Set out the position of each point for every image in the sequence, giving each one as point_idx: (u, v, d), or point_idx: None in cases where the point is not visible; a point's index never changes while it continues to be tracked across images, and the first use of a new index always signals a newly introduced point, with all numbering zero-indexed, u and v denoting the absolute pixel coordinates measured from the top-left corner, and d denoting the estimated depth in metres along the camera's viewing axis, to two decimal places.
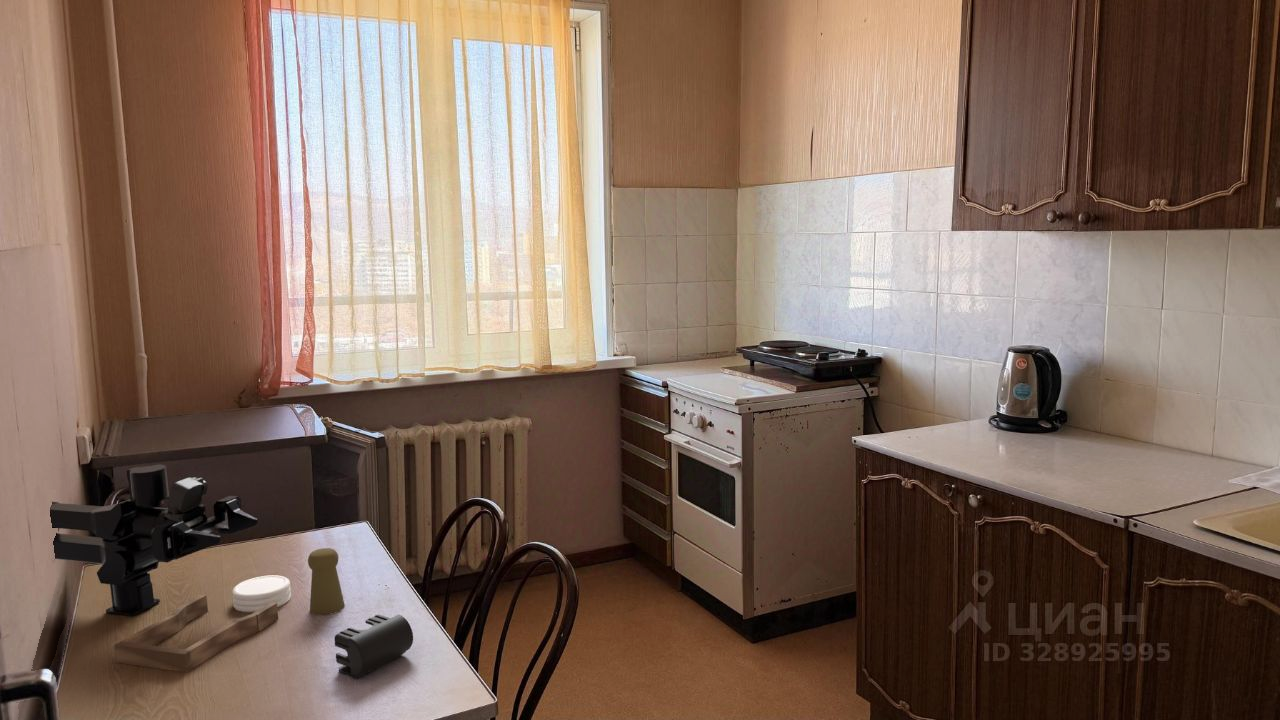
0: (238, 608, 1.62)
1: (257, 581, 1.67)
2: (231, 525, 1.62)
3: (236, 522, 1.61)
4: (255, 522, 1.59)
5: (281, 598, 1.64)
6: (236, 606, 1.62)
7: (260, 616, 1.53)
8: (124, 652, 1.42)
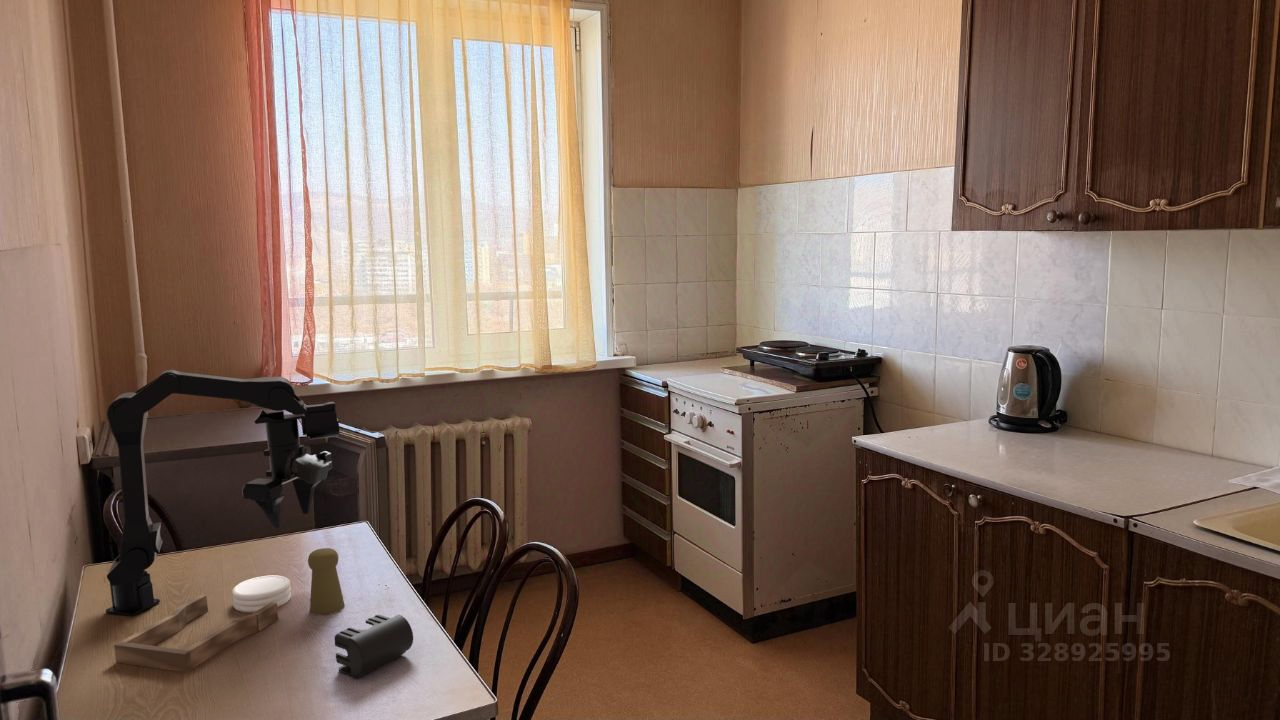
0: (238, 608, 1.62)
1: (257, 581, 1.67)
2: (299, 483, 1.77)
3: (302, 490, 1.77)
4: (305, 512, 1.77)
5: (281, 598, 1.64)
6: (236, 606, 1.62)
7: (260, 616, 1.53)
8: (124, 652, 1.42)
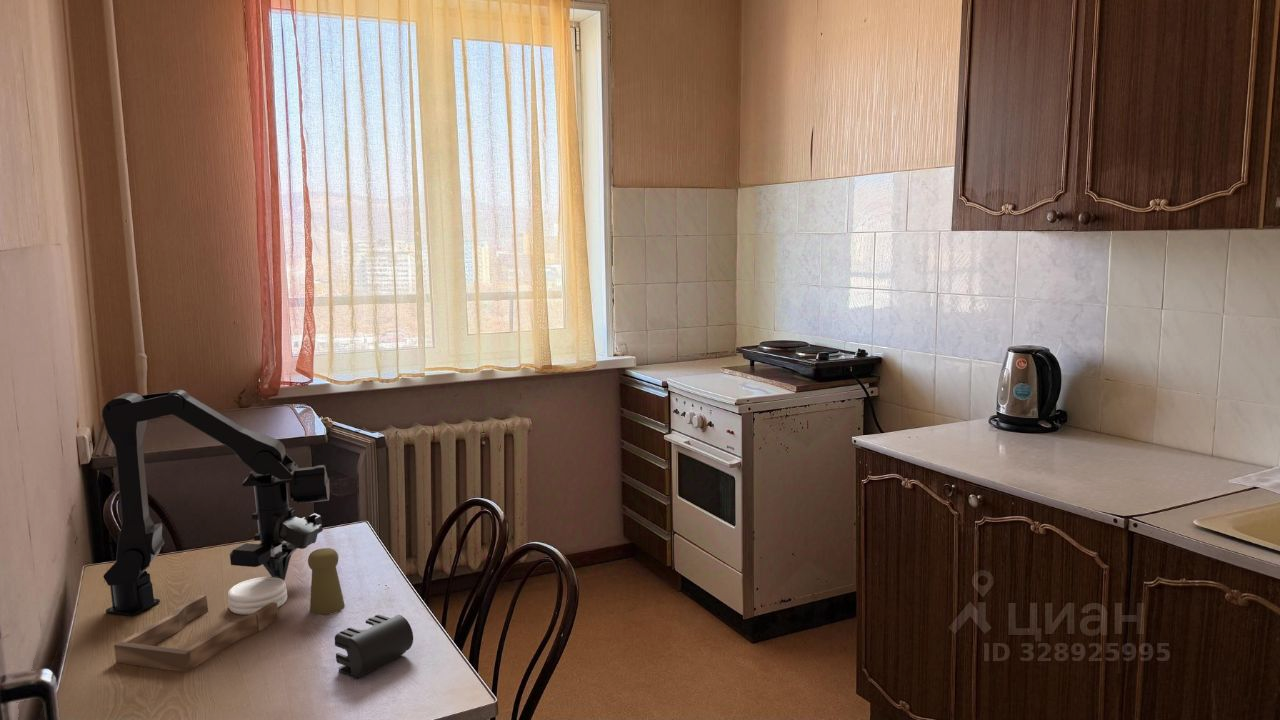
0: (234, 610, 1.60)
1: (253, 582, 1.66)
2: None
3: None
4: None
5: (277, 600, 1.62)
6: (232, 608, 1.61)
7: (260, 616, 1.53)
8: (124, 652, 1.42)
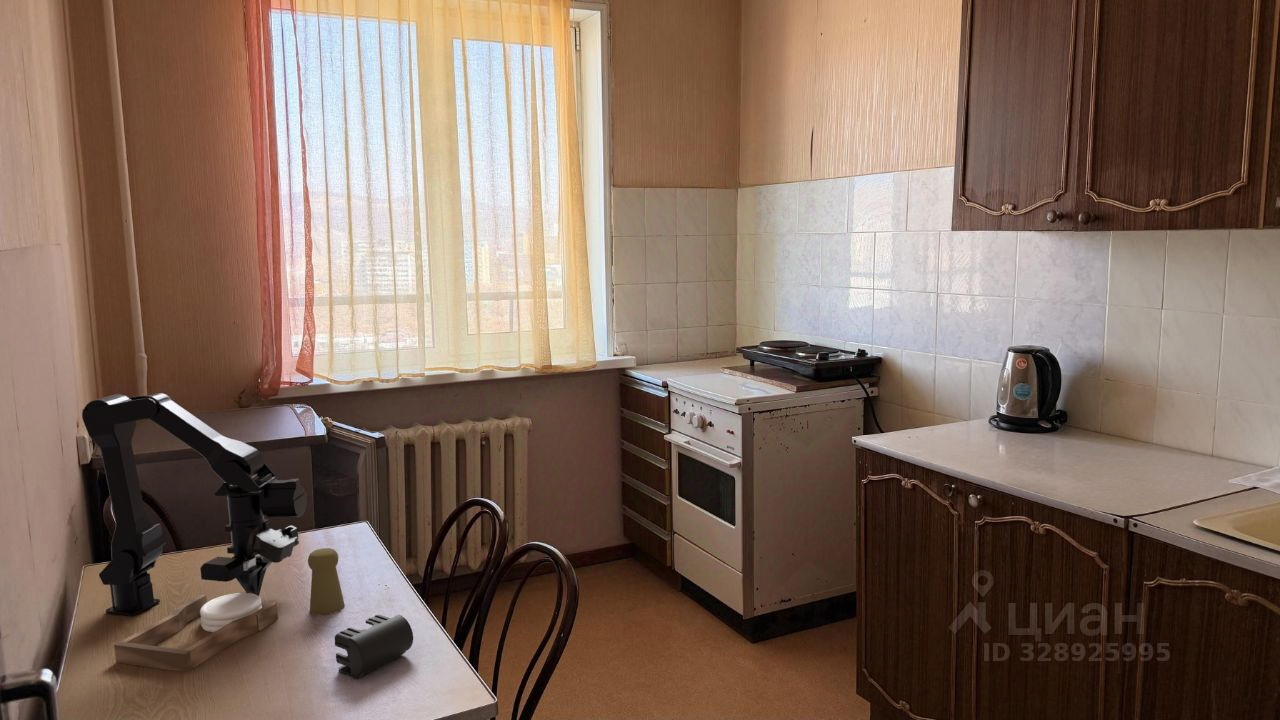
0: (206, 628, 1.54)
1: (227, 599, 1.60)
2: None
3: None
4: None
5: None
6: (204, 626, 1.54)
7: (260, 616, 1.53)
8: (124, 652, 1.42)
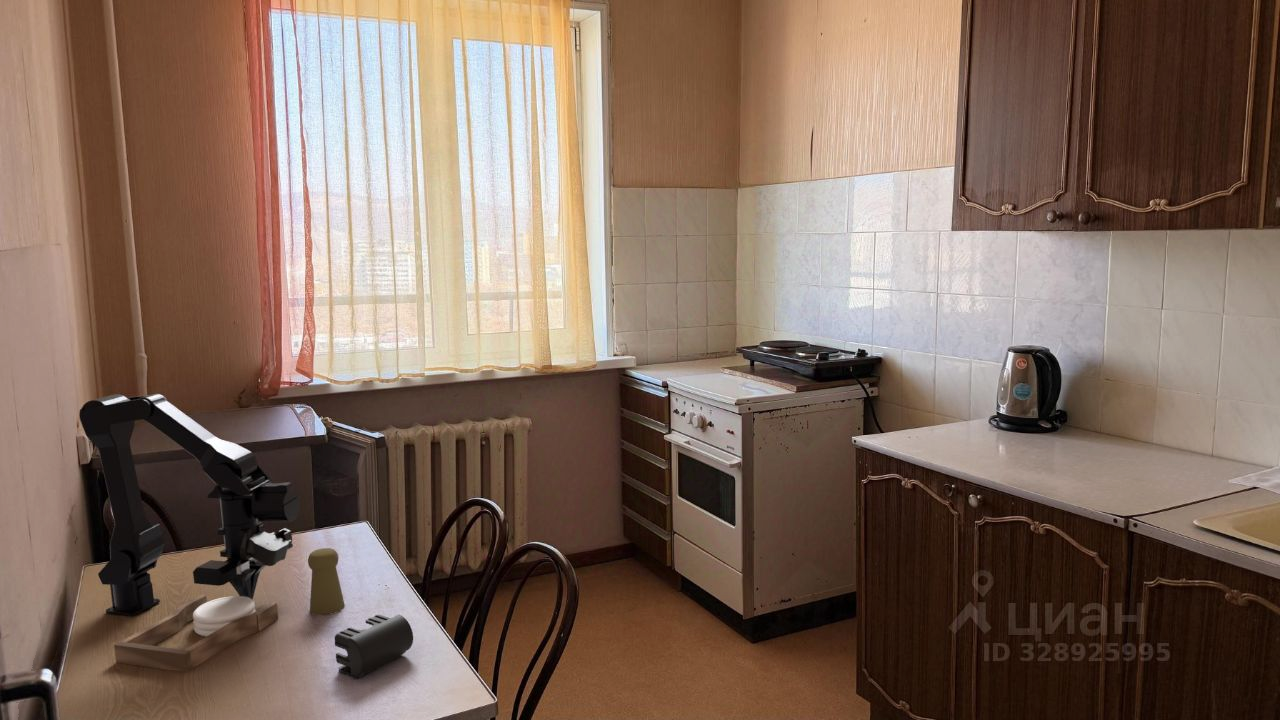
0: (199, 632, 1.52)
1: (220, 602, 1.58)
2: None
3: None
4: None
5: None
6: (197, 630, 1.52)
7: (260, 616, 1.53)
8: (124, 652, 1.42)
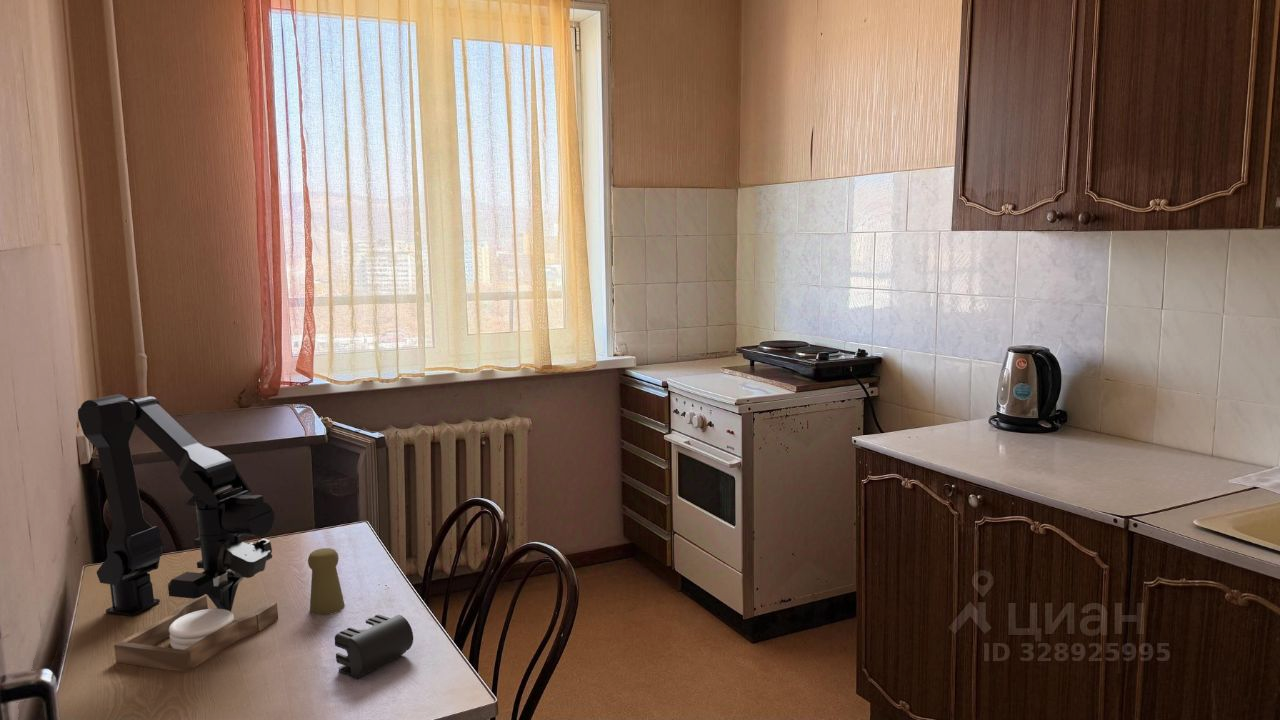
0: (176, 647, 1.47)
1: (197, 615, 1.52)
2: None
3: None
4: None
5: None
6: (173, 645, 1.47)
7: (260, 616, 1.53)
8: (124, 652, 1.42)
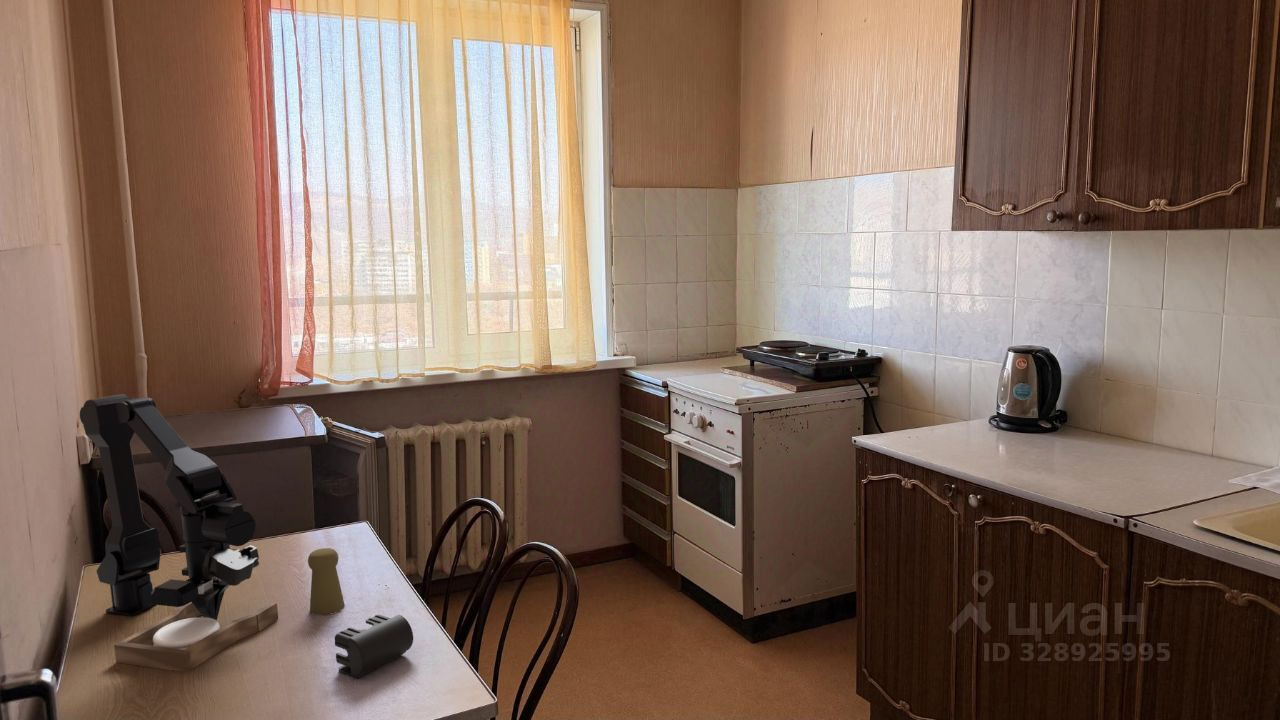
0: None
1: (182, 624, 1.49)
2: None
3: None
4: None
5: None
6: None
7: (260, 616, 1.53)
8: (124, 652, 1.42)
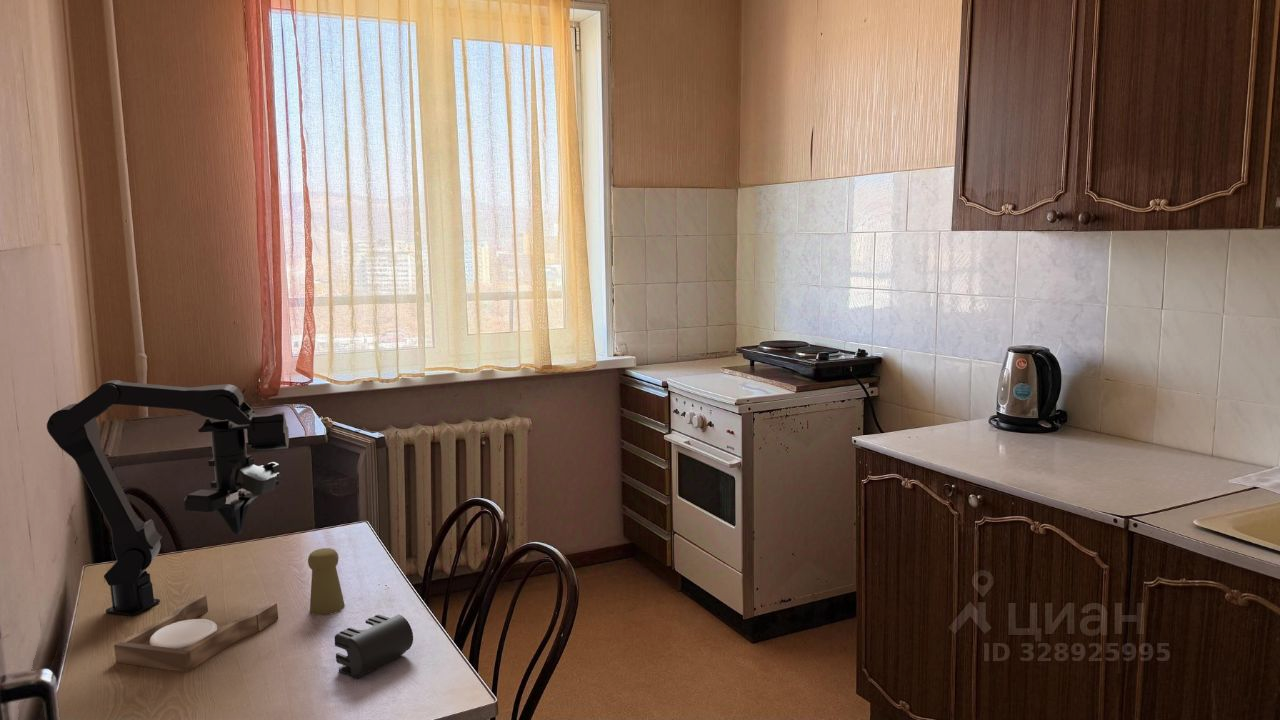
0: None
1: (179, 626, 1.49)
2: None
3: None
4: None
5: None
6: None
7: (260, 616, 1.53)
8: (124, 652, 1.42)
